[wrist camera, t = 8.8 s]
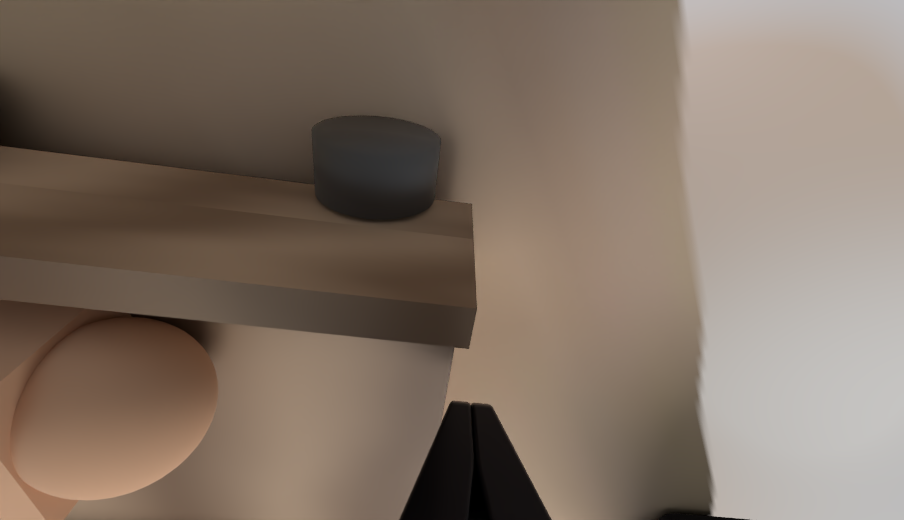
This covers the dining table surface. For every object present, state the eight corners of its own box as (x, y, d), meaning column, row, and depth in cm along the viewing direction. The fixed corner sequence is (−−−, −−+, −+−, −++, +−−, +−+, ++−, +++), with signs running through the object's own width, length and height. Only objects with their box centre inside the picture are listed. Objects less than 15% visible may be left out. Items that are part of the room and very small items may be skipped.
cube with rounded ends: (232, 291, 9) (127, 431, 6) (253, 399, 10) (180, 544, 8) (-150, 250, 8) (-448, 378, 5) (-60, 369, 10) (-252, 510, 7)
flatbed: (479, 129, 9) (492, 229, 5) (417, 519, 18) (405, 659, 14) (-224, 36, 8) (-779, 77, 5) (72, 490, 17) (-36, 630, 14)
